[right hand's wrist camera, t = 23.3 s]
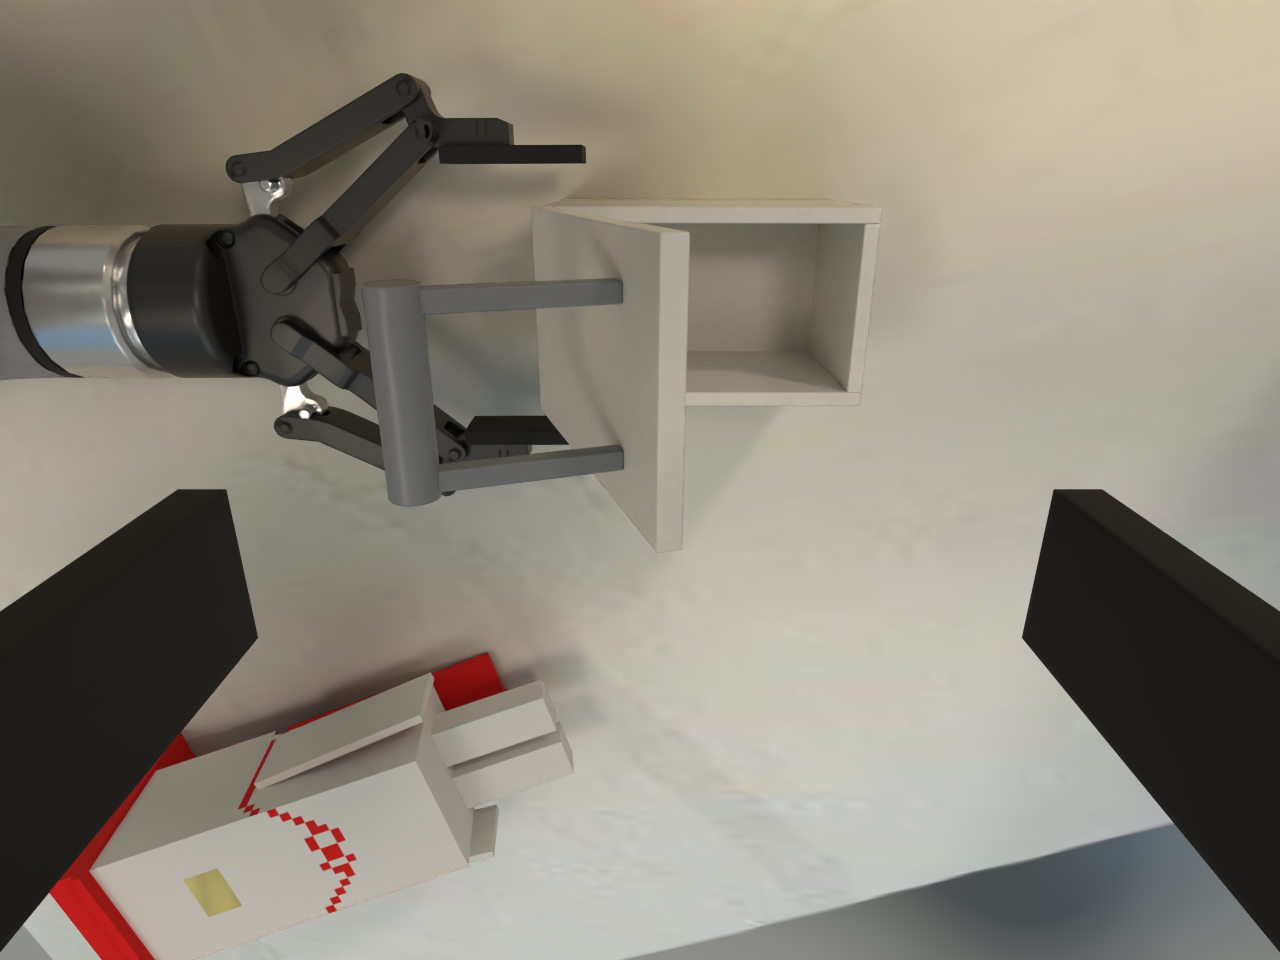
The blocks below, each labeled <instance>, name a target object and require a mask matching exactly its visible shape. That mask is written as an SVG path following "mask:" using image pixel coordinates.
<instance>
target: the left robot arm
mask: <svg viewBox="0 0 1280 960" xmlns="http://www.w3.org/2000/svg"><path fill="white" fill-rule="evenodd" d="M404 118H406V120H407V123H408V125H409V126H408V127H407V128H406V129H405V130H404V131H403V132H402V133H401V134H400V135H399V137H398V138H397V139H396V140H395V141H394V142H393V143H392V144H391V145H390V146H389V147H388V148H387V149H386V150H385V151H384V152H383V153H382V154H381V155H380V156H379V157H378V158H377V159H376V160H375V161H374V162H373V163H372V165H371V166H370V167H369V168H368V169H367V170H366V171H365V172H364V173H363V174H362V175H361V176H360V177H359V178H358V179H357V180H356V181H355V182H354V183H353V184H352V185H351V186H350V187H349V188H348V189H347V190H346V191H345V193H344V194H343V195H342V196H341V197H340V198H339V199H338V200H337V201H336V202H335V203H334V204H333V205H332V206H331V207H330V208H329V209H328V210H327V211H326V212H325V213H324V214H323V215H322V216H320V217H319V218H317V219H316V220H314V221H313V222H312V223H311V224H310V225H309V226H308V227H307V228H306V229H305V230H304V229H303V228H301V227H300V226H298V225H297V224H295V223H294V222H292V221H291V220H290V219H288V218H286V217H285V216H283V215H280V214H279V213H278V204H279V202H280V201H281V200H282V199H283V198H285V197H288V196H289V195H290V194H291V193H292V191H293V183H292V179H295V178H299V177H302V176H305V175H308V174H310V173H312V172H314V171H316V170H317V169H319V168H321V167H323V166H324V165H326V164H328V163H329V162H331V161H333V160H334V159H336V158H338V157H339V156H341V155H343V154H345V153H346V152H348V151H350V150H351V149H353V148H355V147H356V146H358V145H360V144H362V143H363V142H365V141H367V140H368V139H370V138H372V137H373V136H375V135H377V134H378V133H380V132H382V131H384V130H385V129H387V128H389V127H390V126H392V125H394V124H395V123H397V122H399V121H401V120H402V119H404ZM438 152H439V159H440V163H441V164H560V163H586V147H585V146H583V145H514V136H513V124H510V123H508V122H505V121H503V120H501V119H498V118H444V117H442V116H441V115H440V114H439V113H438V111H437V109H436V107H435V105H434V102H433V100H432V98H431V91H430V88H429V86H428V85H427V84H426V82H424V81H422V80H420V79H418V78H416V77H413V76H411V75H408V74H404V73H400V74H397V75H395V76H394V77H392V78H390V79H389V80H387V81H385V82H384V83H382V84H380V85H379V86H377V87H375V88H374V89H372V90H370V91H369V92H367V93H365V94H364V95H362V96H360V97H359V98H357V99H355V100H354V101H352V102H350V103H349V104H347V105H345V106H344V107H342V108H340V109H339V110H337V111H335V112H334V113H332V114H330V115H329V116H327V117H325V118H324V119H322V120H320V121H319V122H317V123H315V124H314V125H312V126H310V127H309V128H307V129H305V130H304V131H302V132H300V133H299V134H297V135H296V136H294V137H292V138H291V139H289V140H287V141H286V142H284V143H282V144H281V145H279V146H277V147H276V148H274V149H272V150H271V151H264V152H257V153H249V154H241V155H234V156H232V157H230V158H229V159H228V160H227V162H226V172H227V174H228V176H229V177H230V178H231V179H232V180H233V181H235V182H237V183H241V185H242V189H243V192H244V196H245V199H246V203H247V206H248V210H249V213H250V216H251V217H250V218H248V219H247V220H245V221H244V222H242V223H239V224H174V225H157V226H155V227H153V228H150V227H148V226H145V225H59V226H44V227H11V226H0V380H6V379H21V378H62V377H73V378H165V377H169V376H172V375H174V376H177V377H182V378H250V377H259V378H265V379H269V380H271V381H274V382H276V383H278V384H280V385H281V399H282V416H280V417H279V418H277V419H276V421H275V422H274V429H275V431H276V433H277V434H278V435H280V436H281V437H283V438H288V439H298V440H307V441H317V442H321V443H323V444H325V445H327V446H330V447H332V448H334V449H337V450H339V451H341V452H344V453H346V454H348V455H350V456H353V457H355V458H357V459H360V460H362V461H364V462H367V463H369V464H371V465H373V466H376V467H378V468H380V469H383V470H385V467H384V459H383V451H382V444H381V436H380V428H379V425H378V424H375V423H373V422H371V421H369V420H366V419H364V418H362V417H360V416H357V415H355V414H353V413H351V412H348V411H345V410H343V409H339V408H336V407H330V406H328V404H327V400H326V399H325V398H323V397H321V396H318V395H316V394H314V393H312V392H311V391H310V390H309V388H308V386H307V381H308V380H310V379H312V378H313V377H314V376H315V375H317V374H318V373H319V374H321V375H322V376H324V377H325V378H326V379H328V380H329V381H330V382H332V383H333V384H335V385H336V386H338V387H340V388H342V389H347V390H350V391H351V392H353V393H354V394H355V395H357V396H358V397H359V398H361V399H362V400H364V401H365V402H366V403H368V404H369V405H370V406H372V407H373V408H374V409H376V410H377V405H376V397H375V389H374V381H373V374H372V366H371V358H370V352H369V351H368V350H367V349H365V348H364V347H363V346H361V345H360V344H359V343H357V342H356V338H357V336H358V331H359V330H361V329H362V326H361V318H360V313H359V311H358V308H357V306H356V303H355V301H354V293H355V285H356V282H355V275H354V268H349V265H348V264H347V262H346V260H345V259H344V258H343V257H342V255H340V253H341V252H342V251H343V250H344V249H345V248H346V247H347V246H348V245H349V244H350V243H351V242H352V241H353V240H354V239H355V238H356V237H357V236H358V234H359V232H360V231H361V229H362V228H363V227H364V226H365V225H366V224H367V223H368V222H369V221H370V220H371V219H372V218H373V217H374V216H375V215H376V214H377V213H378V212H379V211H380V210H381V209H382V208H383V207H384V206H385V205H386V204H387V203H388V202H389V201H390V200H391V199H392V198H393V197H394V196H395V195H396V194H397V193H398V192H399V191H400V190H401V189H402V188H403V187H404V186H405V185H406V184H407V183H408V182H409V181H410V180H411V179H412V178H413V177H414V176H415V175H416V174H417V173H418V172H419V171H420V170H421V169H422V168H423V167H424V166H425V165H426V164H427V163H428V162H429V161H430V160H431V159H432V158H433V157H434V156H435V155H436V154H437V153H438ZM433 407H434V417H435V427H436V437H437V447H438V457H439V464H447V463H456V462H465V461H474V460H483V459H492V458H501V457H510V456H519V455H528V454H530V453H531V450H532V445H569V443H568V442H567V441H566V440H565V438H564V437H563V436H562V435H561V433H560V432H559V431H558V430H557V428H556V427H555V426H554V425H553V423H552V422H551V421H550V420H549V418H548V417H547V416H475V417H474V418H473V420H472V421H471V423H470V424H469V426H468V427H467V429H466V428H465V427H464V426H462V425H461V424H460V423H458V422H457V421H456V420H454V419H453V418H452V417H450V416H449V415H448V414H446V413H445V412H444V411H442V410H441V409H440V408H438V407H437V406H436V405H434V404H433ZM454 493H455V491H447V492H442V495H443V496H450V495H452V494H454Z"/></svg>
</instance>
